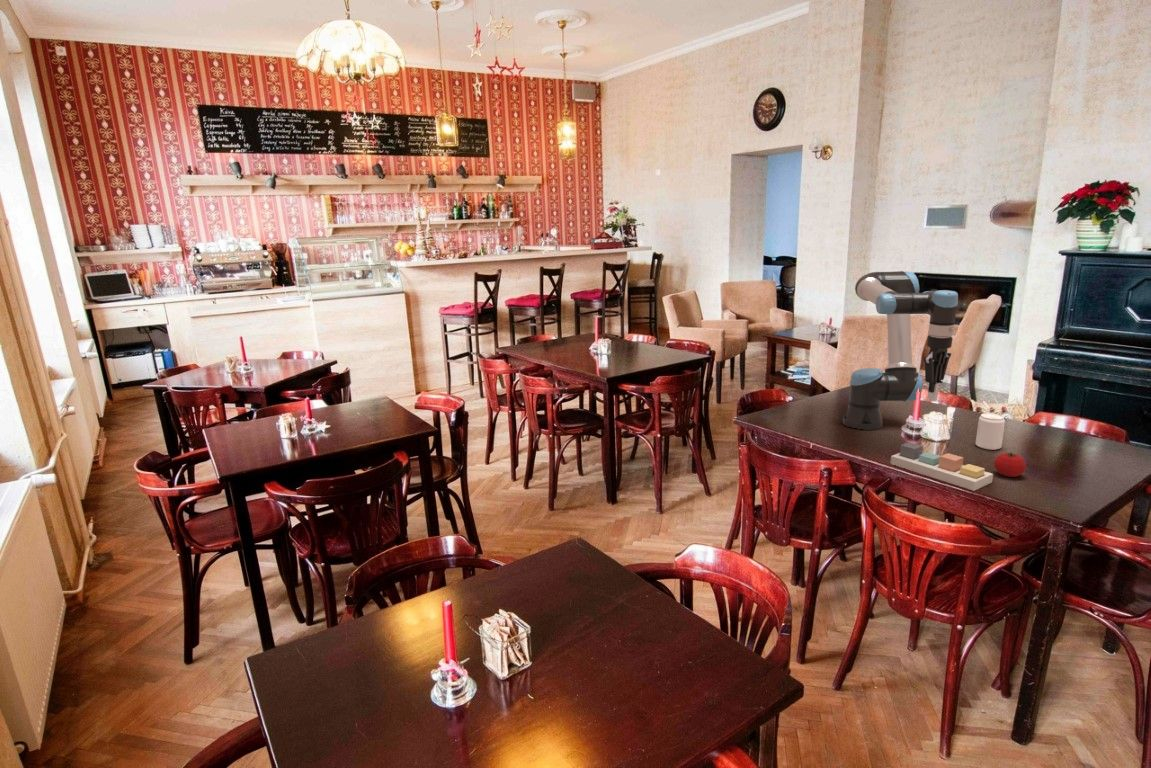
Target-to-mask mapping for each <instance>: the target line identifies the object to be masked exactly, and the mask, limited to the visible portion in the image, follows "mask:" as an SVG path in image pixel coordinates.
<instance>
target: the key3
mask: <svg viewBox="0 0 1151 768" xmlns="http://www.w3.org/2000/svg"><path fill="white" fill-rule="evenodd" d="M963 465H964V457H963V456H960V455H955V454H952V453H949V452H947V453H945V454H942V455H940V460H939V468H942V469H945V470H948V471H952V472H957V471H959V470H960V467H962V466H963Z"/></svg>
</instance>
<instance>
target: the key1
mask: <svg viewBox="0 0 1151 768" xmlns="http://www.w3.org/2000/svg"><path fill="white" fill-rule="evenodd" d="M923 451H924V445H921V444H918V443H915V442H909V441H908V442H905V443H901V445H900V451H899V453H900V456H902V457H906V458H909V459H912V460H915V459H918V458H919V455H921V454H922V453H923Z"/></svg>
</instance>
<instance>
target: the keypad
mask: <svg viewBox="0 0 1151 768" xmlns="http://www.w3.org/2000/svg"><path fill="white" fill-rule="evenodd" d="M924 453H925V452H924ZM924 453H923V452H922V454H924ZM889 465H891V466H892V465H893V466H895V465H896V466H895V467H897V468H898V467H899V468H902V469H904V468H905V470H909V471H911V472H915V473H916V474H920V475H923V476H927V477H929V478H932V479H936V480H938V481H941V482H945V483H949V484H952V485H955V486H957V487H961V488H964V489H966V490H970V491H973V492H974V491H977V490H979V489H981V488H983V487H985V486H988V485H989V484H992V483H993V479H994V478H993V477H994V473H991V472H988V471H985V472H984V476H982V477H980V478H978V479H974V478H971V477H968V476H965V475H961V474H960V470H959V471H957V472H952V471H948V470H945V469H942V468H939V464H938V465H935V466H932V465H929V464H925V463H922V462H919V458H918V459H915V460H912V459H909V458H906V457H902V456H900V452H897V453H895V454H893V455H891V457H890V464H889ZM965 465H966V464H965ZM965 465H964V464H963V466H965Z"/></svg>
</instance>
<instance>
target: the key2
mask: <svg viewBox="0 0 1151 768" xmlns="http://www.w3.org/2000/svg"><path fill="white" fill-rule="evenodd" d="M940 456H941V455H939V454H935V453H932V452H929V451H927V452H924V454H921V455H919V462H922V463H925V464H929V465H932V466H935V465H938V464H939V460H940Z"/></svg>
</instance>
